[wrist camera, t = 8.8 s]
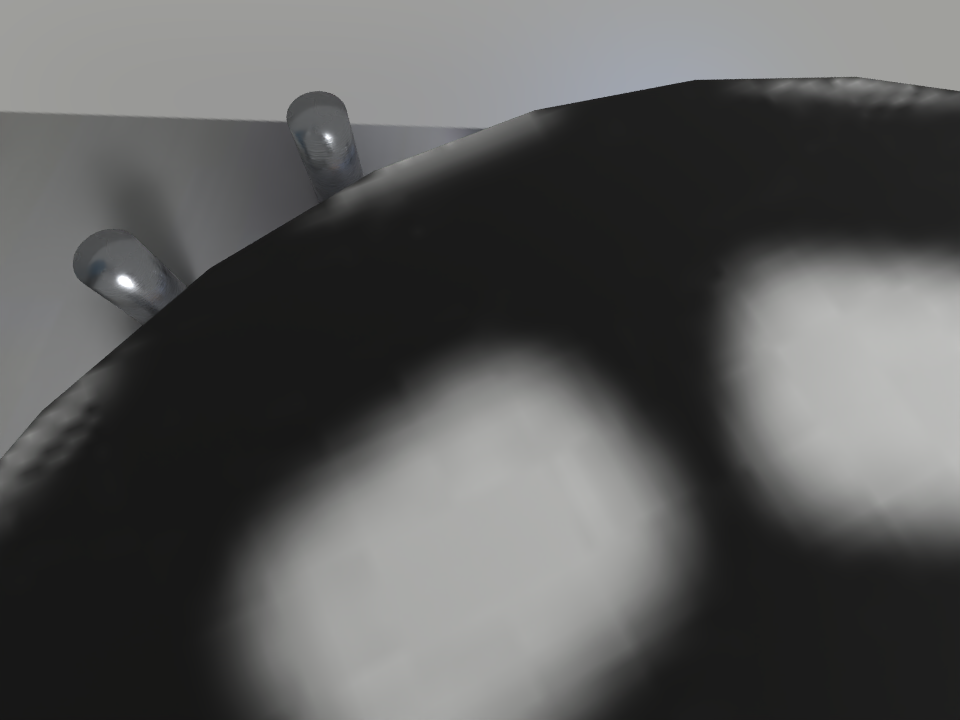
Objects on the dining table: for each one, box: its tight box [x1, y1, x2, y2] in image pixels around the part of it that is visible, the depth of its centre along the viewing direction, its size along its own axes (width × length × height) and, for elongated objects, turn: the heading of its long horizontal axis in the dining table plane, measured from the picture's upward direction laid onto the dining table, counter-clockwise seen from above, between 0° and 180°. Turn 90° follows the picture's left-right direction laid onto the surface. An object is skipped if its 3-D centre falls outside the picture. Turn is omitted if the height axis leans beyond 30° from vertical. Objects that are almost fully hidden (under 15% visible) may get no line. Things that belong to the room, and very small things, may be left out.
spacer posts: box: [73, 91, 363, 325], centre depth 36 cm, size 30×24×9 cm
